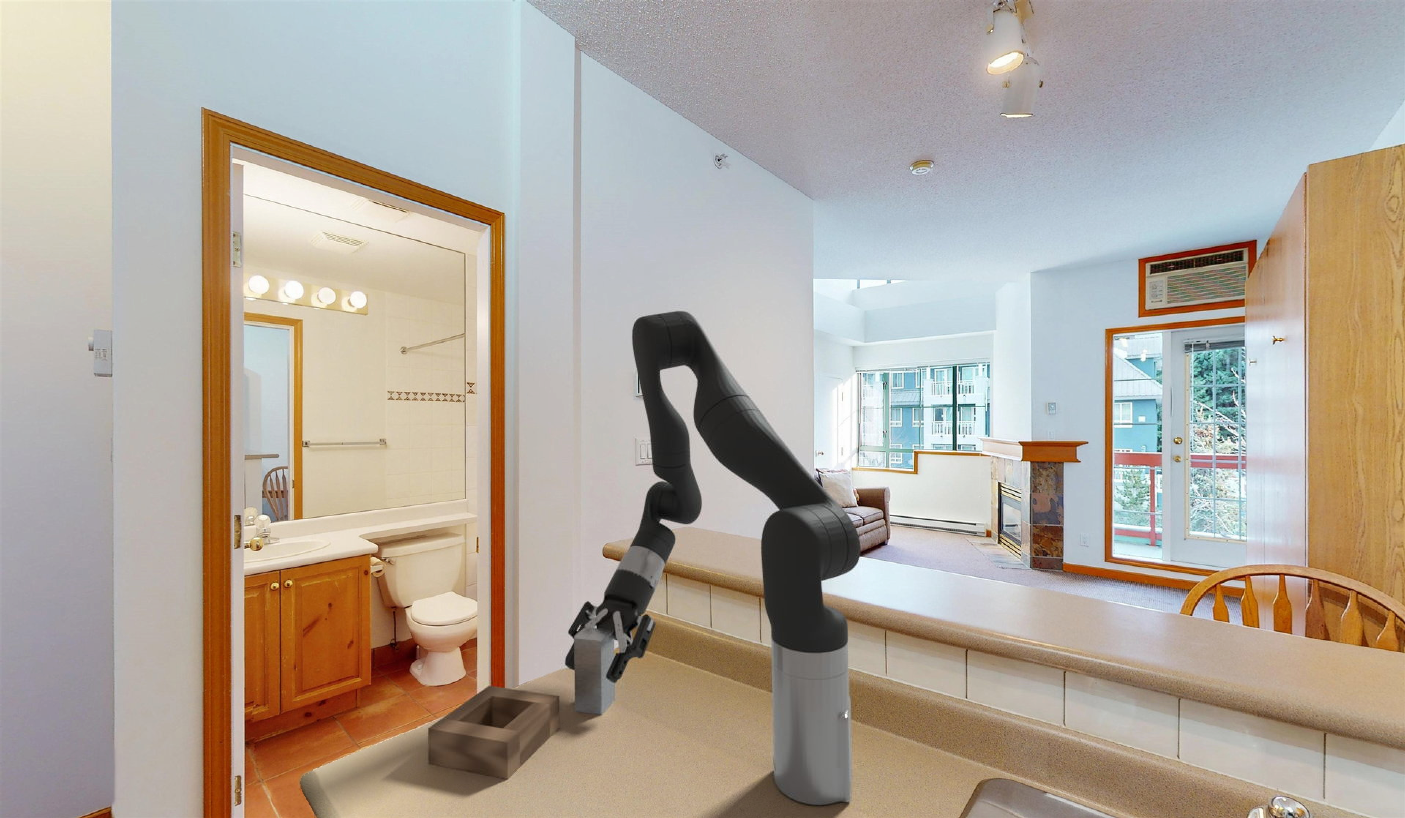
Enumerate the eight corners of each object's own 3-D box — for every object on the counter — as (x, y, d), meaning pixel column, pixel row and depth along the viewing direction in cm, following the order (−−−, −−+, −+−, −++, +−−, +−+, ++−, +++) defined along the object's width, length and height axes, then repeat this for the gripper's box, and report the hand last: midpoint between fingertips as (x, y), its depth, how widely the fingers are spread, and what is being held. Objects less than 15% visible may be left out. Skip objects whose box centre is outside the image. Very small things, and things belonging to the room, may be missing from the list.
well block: (559, 727, 80) (559, 695, 81) (507, 779, 69) (507, 742, 69) (489, 715, 84) (488, 685, 84) (428, 763, 72) (428, 728, 73)
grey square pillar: (615, 700, 88) (614, 629, 88) (601, 714, 84) (600, 640, 84) (589, 696, 89) (588, 627, 90) (575, 710, 85) (574, 637, 85)
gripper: (593, 562, 97) (543, 653, 87) (659, 573, 90) (613, 673, 80) (614, 585, 102) (568, 674, 92) (679, 597, 94) (637, 695, 84)
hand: (589, 673), depth 86 cm, fingers open, 8 cm apart
